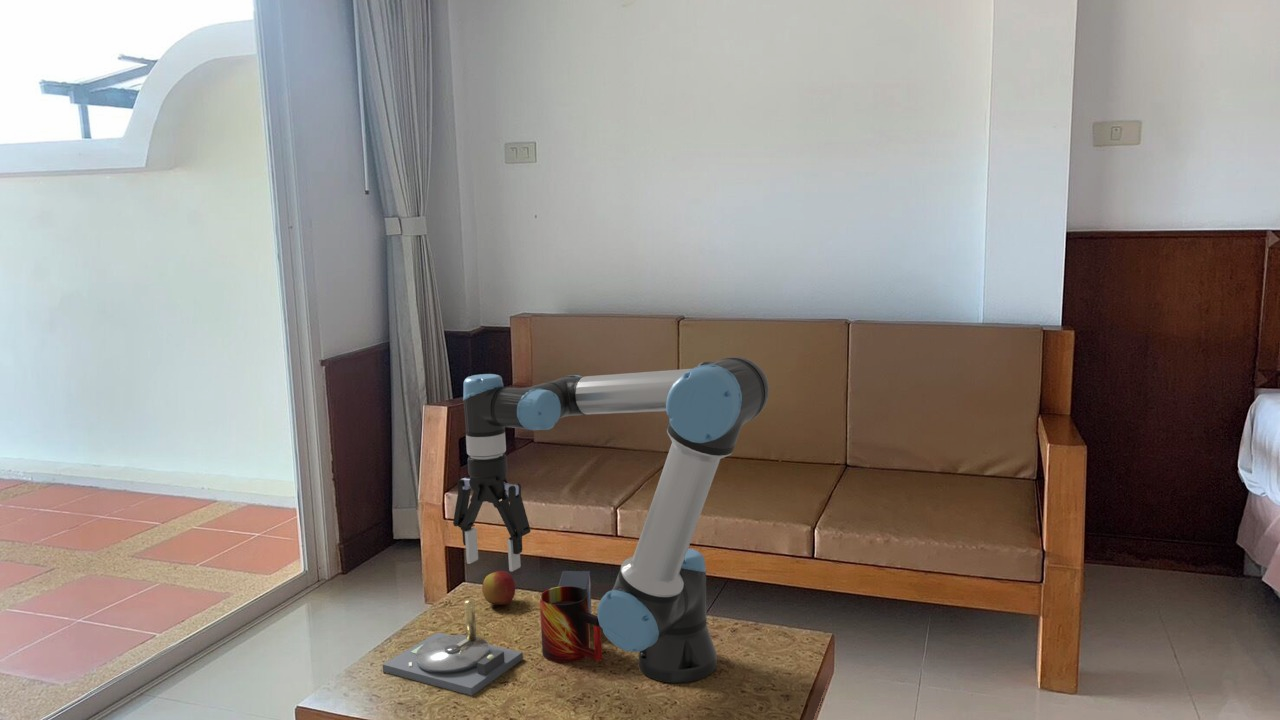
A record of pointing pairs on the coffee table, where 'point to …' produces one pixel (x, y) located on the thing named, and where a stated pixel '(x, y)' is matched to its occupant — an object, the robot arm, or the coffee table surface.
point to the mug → (568, 625)
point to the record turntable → (455, 681)
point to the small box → (577, 582)
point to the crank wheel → (454, 648)
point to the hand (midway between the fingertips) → (493, 565)
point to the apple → (499, 588)
